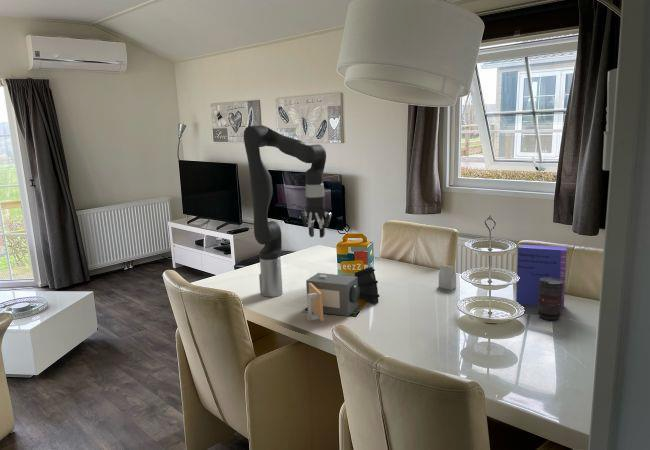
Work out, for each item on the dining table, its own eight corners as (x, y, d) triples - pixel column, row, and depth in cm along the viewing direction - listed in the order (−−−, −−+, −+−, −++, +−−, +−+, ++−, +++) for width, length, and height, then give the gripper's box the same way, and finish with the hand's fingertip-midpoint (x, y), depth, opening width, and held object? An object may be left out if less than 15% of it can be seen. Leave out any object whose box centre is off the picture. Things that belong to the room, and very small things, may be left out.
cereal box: (563, 305, 203) (566, 246, 198) (563, 309, 198) (566, 249, 194) (517, 300, 210) (518, 244, 205) (516, 304, 206) (517, 246, 201)
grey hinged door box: (307, 310, 209) (305, 278, 206) (319, 301, 218) (317, 271, 216) (351, 316, 200) (350, 283, 198) (362, 307, 210) (361, 275, 207)
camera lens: (550, 324, 185) (552, 285, 182) (532, 317, 192) (534, 279, 189) (565, 319, 188) (568, 281, 185) (547, 313, 195) (549, 275, 192)
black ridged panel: (376, 302, 210) (366, 267, 212) (360, 307, 221) (350, 274, 224) (384, 300, 212) (373, 266, 214) (367, 305, 223) (357, 272, 225)
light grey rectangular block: (451, 290, 226) (451, 268, 224) (438, 286, 231) (438, 265, 229) (456, 288, 228) (456, 266, 226) (443, 284, 233) (443, 263, 231)
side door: (299, 309, 206) (297, 284, 204) (312, 307, 208) (310, 282, 205) (310, 323, 192) (308, 295, 190) (323, 320, 194) (322, 293, 192)
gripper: (335, 194, 204) (336, 236, 208) (304, 193, 210) (305, 233, 214) (327, 197, 198) (328, 240, 201) (295, 196, 204) (297, 237, 207)
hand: (316, 236), depth 207 cm, fingers open, 4 cm apart
